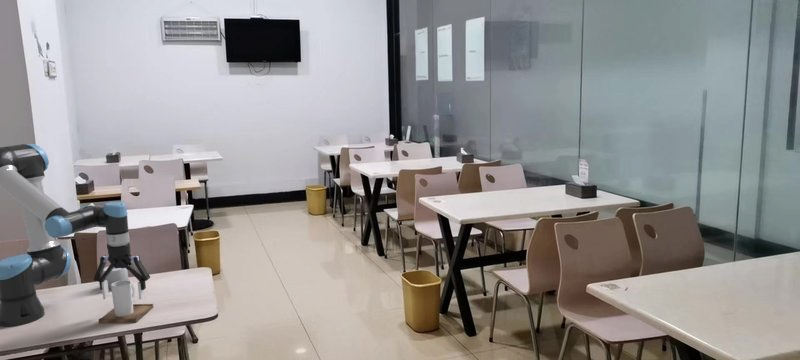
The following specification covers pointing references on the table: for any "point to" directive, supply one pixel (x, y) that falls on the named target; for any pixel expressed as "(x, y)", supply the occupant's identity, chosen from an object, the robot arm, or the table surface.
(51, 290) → the table surface
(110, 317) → the wooden coaster
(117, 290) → the mug
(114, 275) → the toilet tissue
